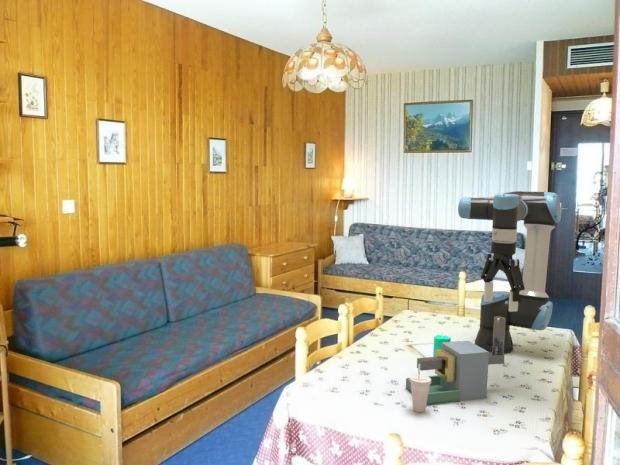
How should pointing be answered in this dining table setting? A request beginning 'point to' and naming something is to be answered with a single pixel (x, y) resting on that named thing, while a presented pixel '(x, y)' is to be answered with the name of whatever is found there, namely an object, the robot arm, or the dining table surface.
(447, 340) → the candle
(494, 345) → the l-shaped bracket
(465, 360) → the bearing block
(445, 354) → the spacer
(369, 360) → the dining table surface
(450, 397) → the tray
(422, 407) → the smoothie
